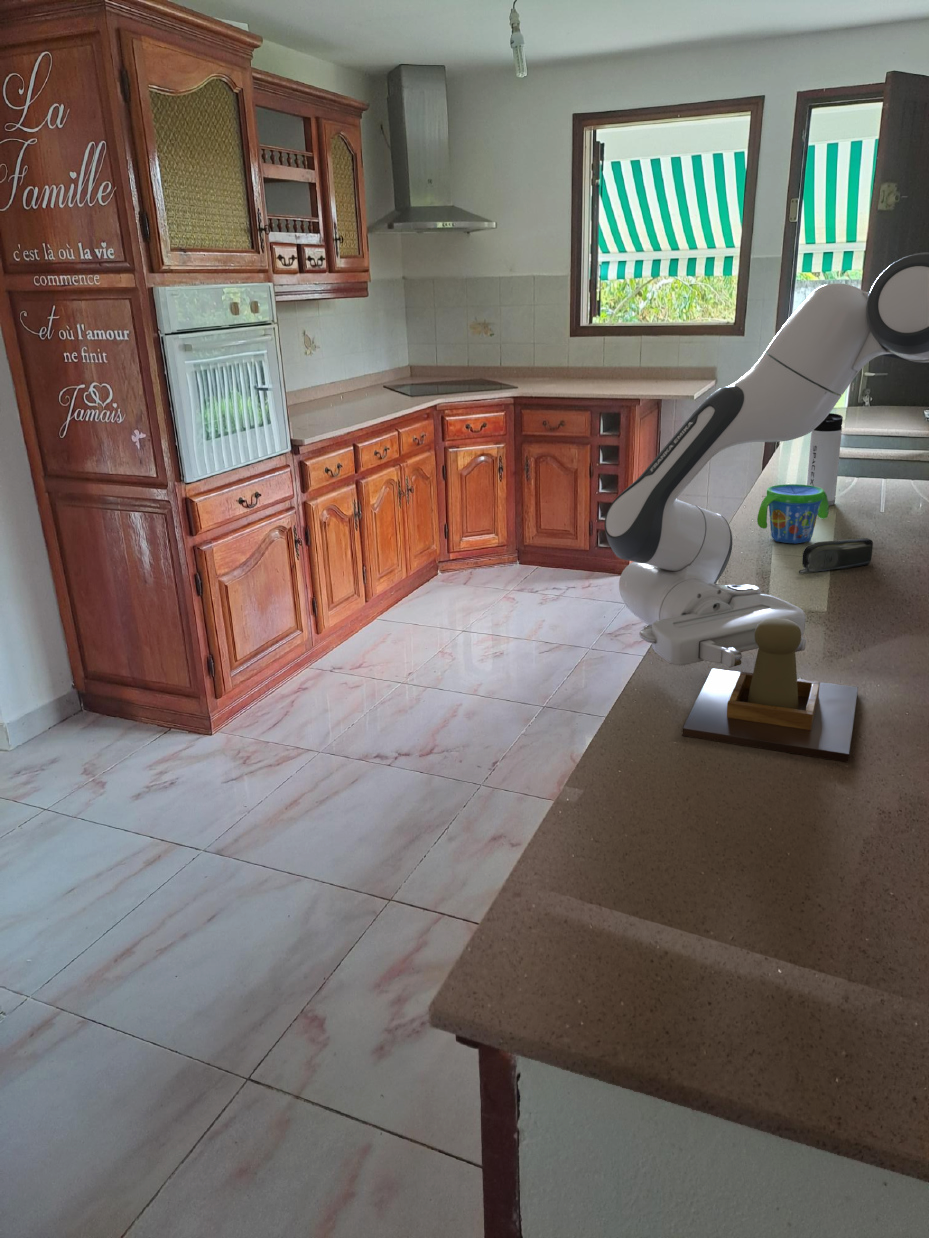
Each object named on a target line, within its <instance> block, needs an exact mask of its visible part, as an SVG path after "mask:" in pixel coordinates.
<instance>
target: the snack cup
mask: <svg viewBox="0 0 929 1238" xmlns="http://www.w3.org/2000/svg"><path fill="white" fill-rule="evenodd" d="M820 503H821V504H820ZM819 505H820V506H819ZM829 508H830V506H828V499H827V495H826V493H825V492H824V490H823V489H821V488H819V487H815V486H810V485H807V484H796V483H795V484H794V483H792V484H791V483H787V484H776V485H772V486H769V487H768V488H766V495H765V497H764V498H763V499H762V501H761V504H760V506H759V510H758V513H757V519H756V520H757V521H756V522H757V525H758V526H759V528H761V529H764V530H766V529H767V528H768V521H767V520H768V512H769V527H770V535H771V538H772V539H773V540H774V541H775V542H778V543H783V544H794V545H797V544H804V543H806V542H811V540H812V537H813V535H814V531H815V527H816V524H817V519H818V518H819V519H821V520H825V519H827V518H828V516H829V510H830V509H829Z"/></svg>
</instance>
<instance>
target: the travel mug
mask: <svg viewBox="0 0 929 1238" xmlns="http://www.w3.org/2000/svg"><path fill="white" fill-rule="evenodd" d="M843 419H844V417H843V416H842V415H841V414H838V413H831V412H830V413H829V415H828V416H827V417H826V418H825V419H824V420H823V422H822V423H821V424H820V425H818V426H817V427H816V428H815V429H814V430H813V431H812V432H810V439H809V440H810V441H809V455H808V463H807V464H808V466H807V476H806V477H807V479H806V485H810V486H815V487H819V488H821V489H823V490H824V492H825V493H826V495H827V499H828V507H830V506H833V505H835V503H836V495H837V484H838V476H839V475H838V474H839V464H840V463H839V462H840V455H841V453H840V452H841V446H842V445H841V442H842V434H843V433H842V431H843V426H842V425H843ZM820 504H821V503H820ZM819 507H820V505H819Z"/></svg>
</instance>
